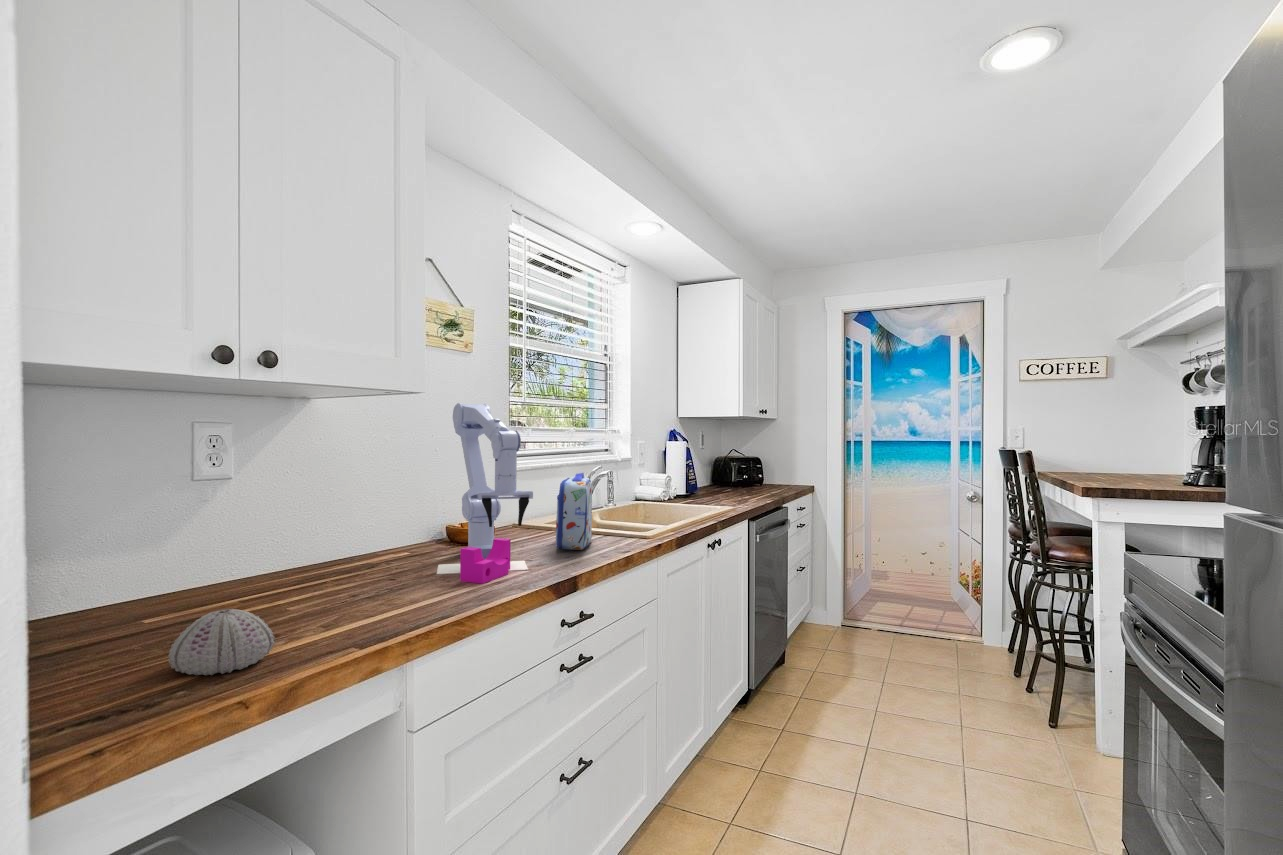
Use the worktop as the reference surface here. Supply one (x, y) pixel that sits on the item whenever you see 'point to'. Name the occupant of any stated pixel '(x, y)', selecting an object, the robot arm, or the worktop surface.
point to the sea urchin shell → (221, 643)
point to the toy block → (485, 562)
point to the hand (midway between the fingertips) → (505, 525)
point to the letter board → (456, 567)
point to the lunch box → (574, 513)
